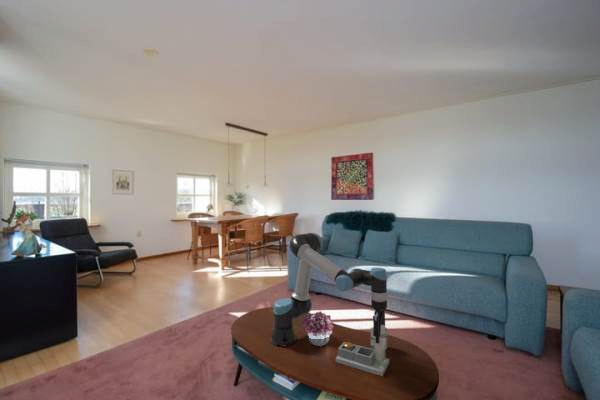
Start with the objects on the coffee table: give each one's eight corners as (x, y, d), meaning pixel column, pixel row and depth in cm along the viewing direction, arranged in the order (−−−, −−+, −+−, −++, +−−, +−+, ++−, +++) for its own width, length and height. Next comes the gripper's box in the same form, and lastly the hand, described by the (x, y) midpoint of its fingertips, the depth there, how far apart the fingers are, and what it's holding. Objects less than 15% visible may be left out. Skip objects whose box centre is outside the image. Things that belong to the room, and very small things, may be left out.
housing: (335, 362, 147) (335, 350, 147) (345, 350, 158) (345, 339, 158) (382, 376, 135) (382, 363, 135) (389, 362, 146) (389, 351, 146)
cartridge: (373, 359, 141) (372, 326, 141) (376, 354, 145) (375, 322, 146) (383, 362, 138) (383, 328, 138) (386, 356, 143) (386, 324, 143)
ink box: (377, 353, 156) (376, 331, 156) (370, 349, 160) (370, 328, 160) (387, 348, 160) (387, 327, 160) (380, 344, 164) (380, 324, 165)
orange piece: (342, 355, 149) (342, 345, 150) (345, 350, 154) (345, 341, 154) (351, 357, 147) (351, 347, 147) (354, 353, 151) (354, 343, 151)
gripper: (381, 306, 132) (382, 357, 132) (391, 295, 148) (391, 340, 148) (365, 304, 136) (366, 352, 136) (376, 293, 152) (377, 337, 152)
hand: (379, 346), depth 142 cm, fingers closed on cartridge, 5 cm apart
